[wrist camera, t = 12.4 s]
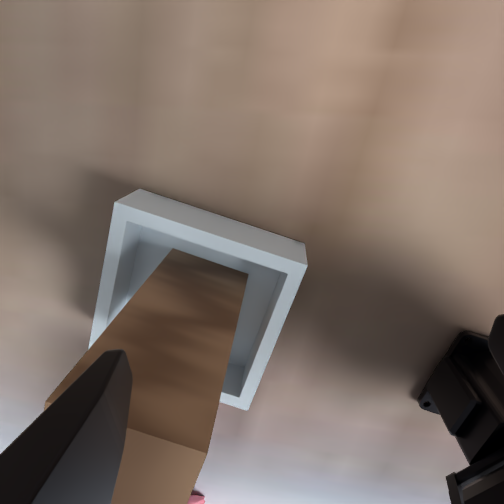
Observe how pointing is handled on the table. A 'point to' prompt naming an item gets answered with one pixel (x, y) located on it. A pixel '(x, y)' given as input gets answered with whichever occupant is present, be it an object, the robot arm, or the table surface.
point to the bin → (213, 249)
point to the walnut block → (170, 373)
